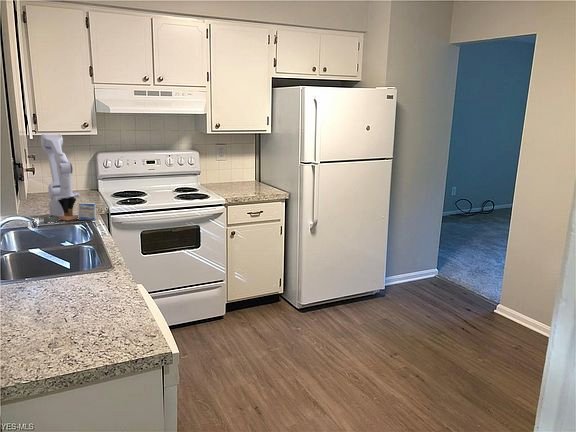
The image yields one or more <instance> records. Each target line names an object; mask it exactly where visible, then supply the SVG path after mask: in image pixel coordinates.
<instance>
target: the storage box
mask: <svg viewBox="0 0 576 432" xmlns="http://www.w3.org/2000/svg"><path fill="white" fill-rule="evenodd" d="M42 217H43V223H44V222H50V223H51V222H55V223H57V222H56V221H59V220H60V219H59V216H56V215H49V214H48V215H45V216H44V215H43V216H42ZM59 222H60V221H59ZM50 223H49V224H50ZM51 224H52V223H51Z"/></svg>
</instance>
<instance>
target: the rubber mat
mask: <svg viewBox="0 0 576 432" xmlns="http://www.w3.org/2000/svg"><path fill="white" fill-rule="evenodd" d="M76 220H77V221H80V220H79V218H77V219H72V220H62V219H59V222H61V221H65V222H64V223H67V222H68V223H71V222H70V221H73V222H77V221H76Z"/></svg>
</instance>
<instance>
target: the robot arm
mask: <svg viewBox="0 0 576 432" xmlns="http://www.w3.org/2000/svg"><path fill="white" fill-rule="evenodd" d="M40 144H41V149H42V151H43V152H44V153H46V155H47V158H48V163H49V168H50V174H51V179H52V180H51V181H52V182H50V184H48V187H47V188H48V189H47V190H48V197H49V199H50V200H49V202H48V208H49V210H48V211H49V214H48V216H49V215H56V216H62V215H64V213H68V209H72V210H73V208H74V205H75V203H76V201H77V198H80V197H81V194H80V192H74V191H73V180H72V179H73V178H72V174H73V164H72V163H71V162H70V161H69V160H68V158H67V155H66V153H65V152H63V150H62V148H63V144H64V139H63V135H62V134H59V133H58V134H42V133H41V135H40Z"/></svg>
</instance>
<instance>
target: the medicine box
mask: <svg viewBox="0 0 576 432" xmlns="http://www.w3.org/2000/svg"><path fill="white" fill-rule="evenodd" d="M78 219H79V220H78V221H95V220H96V219H97V203H96V202H79V203H78Z"/></svg>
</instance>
